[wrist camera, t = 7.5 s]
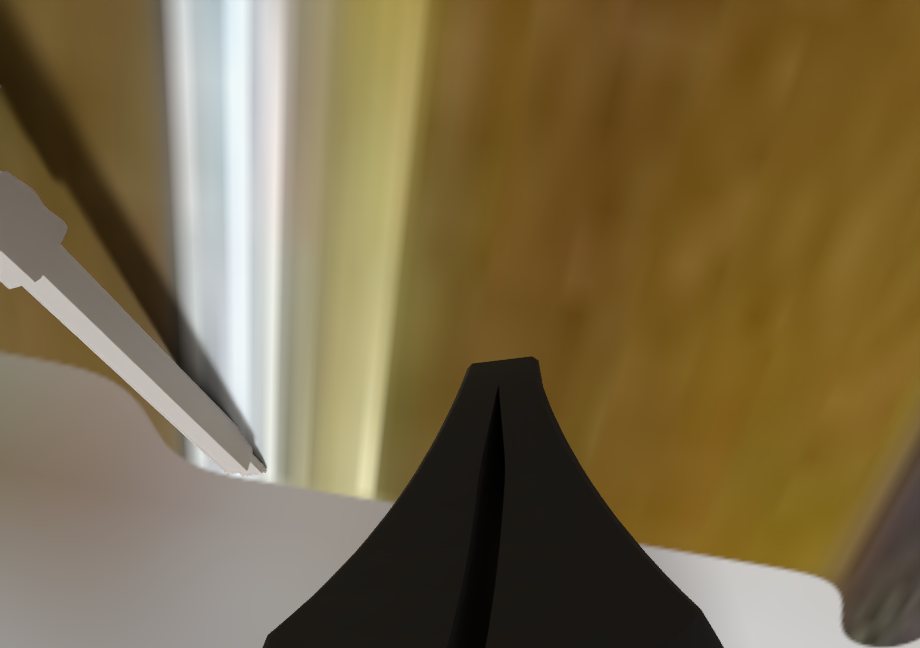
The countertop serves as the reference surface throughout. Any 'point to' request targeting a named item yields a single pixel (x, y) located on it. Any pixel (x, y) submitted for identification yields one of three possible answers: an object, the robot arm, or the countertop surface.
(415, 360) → the countertop surface
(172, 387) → the caliper
